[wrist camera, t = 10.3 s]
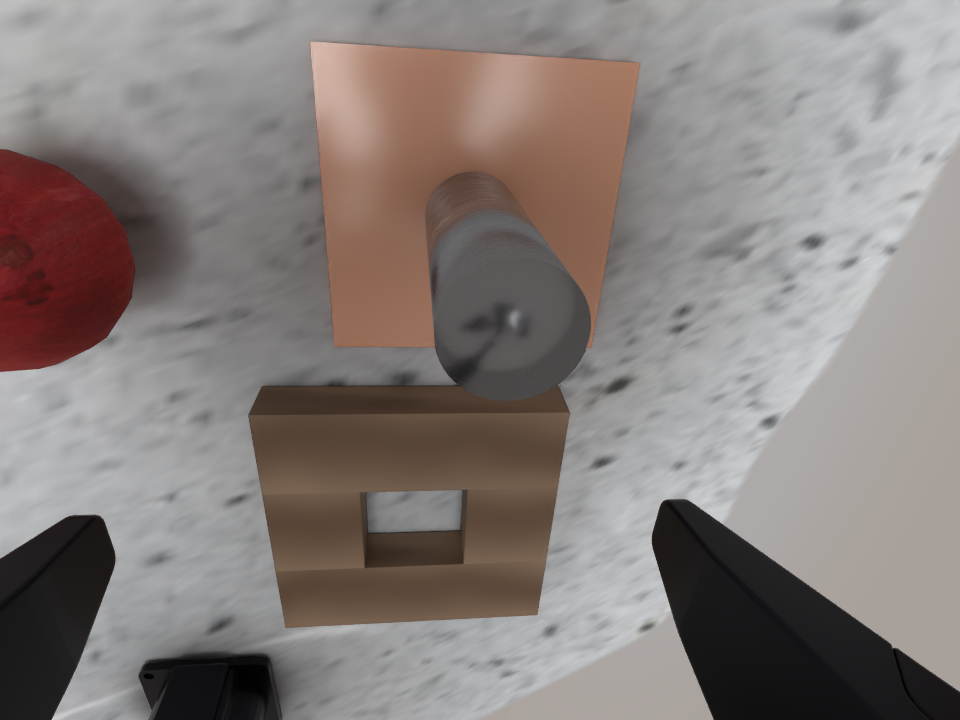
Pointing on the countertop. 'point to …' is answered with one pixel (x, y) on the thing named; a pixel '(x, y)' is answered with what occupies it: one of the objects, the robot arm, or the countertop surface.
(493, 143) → the tile
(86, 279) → the onion
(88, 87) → the countertop surface
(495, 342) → the peg
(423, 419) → the plate
